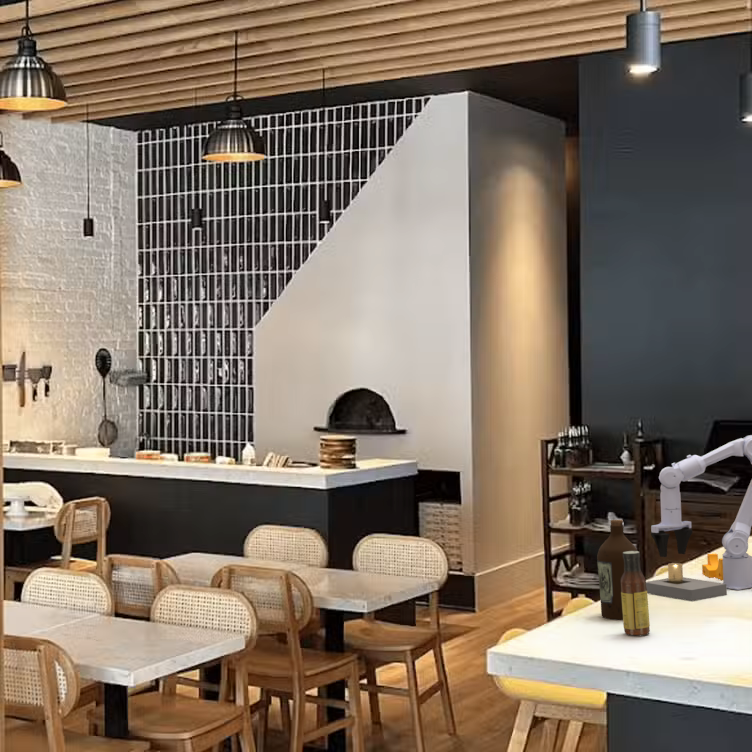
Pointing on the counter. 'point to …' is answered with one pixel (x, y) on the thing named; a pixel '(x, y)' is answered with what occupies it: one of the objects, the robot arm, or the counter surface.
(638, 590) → the sauce bottle
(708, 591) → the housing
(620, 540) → the olive oil
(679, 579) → the pin
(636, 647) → the counter surface
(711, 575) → the pipe clamp
